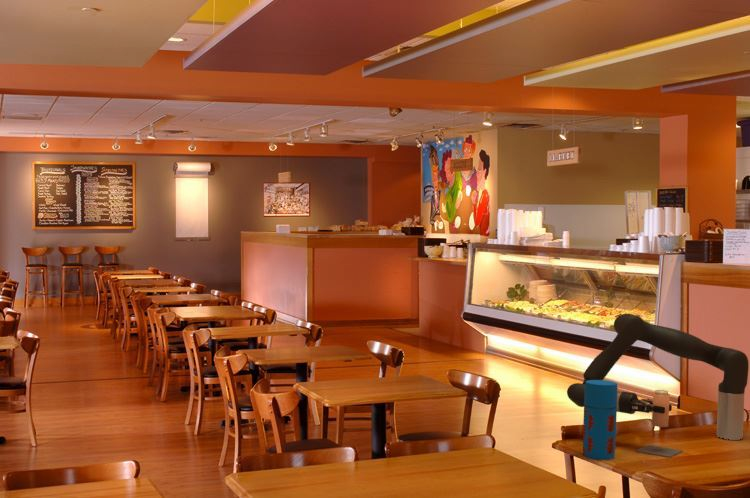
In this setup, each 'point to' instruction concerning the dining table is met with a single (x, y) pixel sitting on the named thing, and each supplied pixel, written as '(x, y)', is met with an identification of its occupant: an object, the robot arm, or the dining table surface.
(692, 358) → the robot arm
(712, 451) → the dining table surface
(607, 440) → the thermos
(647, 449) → the charcoal mat
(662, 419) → the terracotta shaker
